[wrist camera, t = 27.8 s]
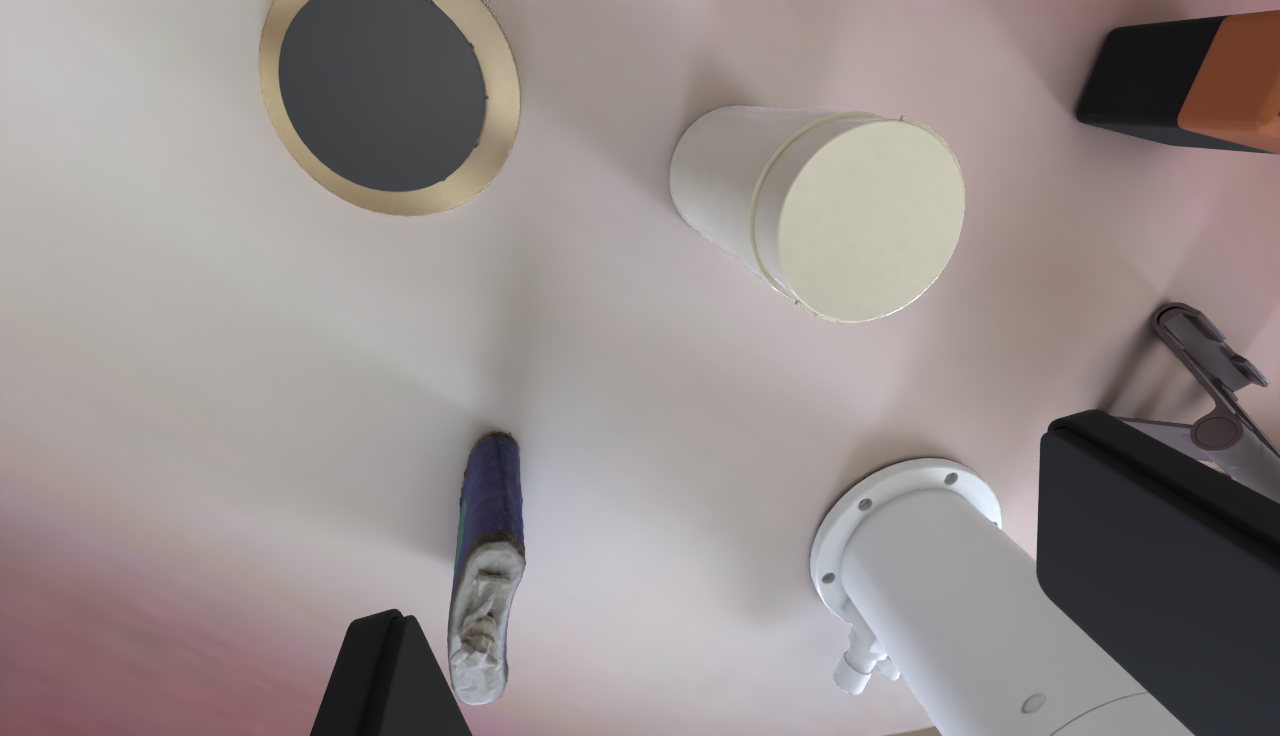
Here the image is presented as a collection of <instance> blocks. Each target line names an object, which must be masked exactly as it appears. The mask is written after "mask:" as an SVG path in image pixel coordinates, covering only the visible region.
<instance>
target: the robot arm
mask: <svg viewBox="0 0 1280 736" xmlns="http://www.w3.org/2000/svg"><path fill="white" fill-rule="evenodd" d="M1001 525H1002V516H1001V509H1000V504H999V502H998V499H997V497H996V495H995V492H994V491H993V490H992V489H991V487H990V486H989V485H988V484H987V482H986V481H985V480H983V479H982V478H981V477H980V476H978V475H977V474H976V473H975V472H974V471H972V470H971V469H969V468H967V467H965V466H963V465H962V464H960V463H957V462H953V461H949V460H946V459H935V458H923V459H915V460H908V461H905V462H901V463H898V464H894V465H891V466H889V467H886V468H884V469H882V470H880V471H878V472H876V473H874V474H872V475H870V476H869V477H867V478H866V479H864V480H863V481H861V482H860V483H858V484H857V485H855V486H854V487H853V488H852V489H851V490H849V491H848V492H847V493H846V494H845V495H844V496H843V497H842V498H841V499H840V500H839V501H838V502H837V503H836V504H835V506H834V507H833V508H832V509H831V510H830V512H829V513H828V514H827V516H826V518H825V519H824V521H823V523H822V524H821V526H820V528H819V529H818V532H817V535H816V537H815V540H814V543H813V546H812V552H811V558H810V568H811V577H812V580H813V583H814V586H815V589H816V591H817V592H818V594H819V595H820V597H821V599H822V601H823V602H824V604H825V605H826V606H827V607H828V608H829V610H830V611H831V612H832V613H833V614H834V615H836V616H837V617H839V618H840V619H842V620H843V621H845V622H847V623H850V624H852V626H853V627H852V629H851V631H850V634H849V639H850V642H851V646H850V648H849V650H848V651H847V652H846V653H844V655H843V657H842V659H841V661H840V663H839V664H838V666H837V668H836V670H835V672H834V680H835V682H836V684H837V685H838V686H839V687H840V688H841V689H842V690H843V691H845V692H847V693H849V694H852V695H858V694H861V692H862V690H863V689H864V687H865V685H866V683H867V681H868V680H869V678H870V676H871V674H872V672H873V667H874V665H875V663H876V661H880V662H879V664H878V666H877V668H878V670H879V672H880V673H881V674H882V675H883V676H884V677H886V678H887V679H890V680H897V679H898V677H899V675H900V673H901V675H902V676H903V678H904V679H905V681H906V682H907V684H908V685H909V687H910V688H911V690H912V691H913V693H914V694H915V696H916V697H917V699H918V700H919V702H920V703H921V705H922V706H923V708H924V709H925V711H926V712H927V714H928V715H929V717H930V718H931V720H932V721H933V723H934V724H935V726H936V727H937V729H938V730H939V732H940V733H941V734H942V736H1280V504H1279V503H1277V502H1275V501H1273V500H1271V499H1270V498H1268V497H1266V496H1264V495H1262V494H1260V493H1258V492H1256V491H1254V490H1252V489H1250V488H1249V487H1247V486H1245V485H1243V484H1241V483H1239V482H1237V481H1235V480H1233V479H1231V478H1229V477H1227V476H1226V475H1224V474H1222V473H1220V472H1218V471H1216V470H1214V469H1212V468H1210V467H1208V466H1206V465H1204V464H1203V463H1201V462H1199V461H1197V460H1195V459H1193V458H1191V457H1189V456H1187V455H1185V454H1183V453H1181V452H1180V451H1178V450H1176V449H1174V448H1172V447H1170V446H1168V445H1166V444H1164V443H1162V442H1160V441H1159V440H1157V439H1155V438H1153V437H1151V436H1149V435H1147V434H1145V433H1143V432H1141V431H1139V430H1137V429H1136V428H1134V427H1132V426H1130V425H1128V424H1126V423H1124V422H1122V421H1120V420H1118V419H1116V418H1114V417H1113V416H1111V415H1109V414H1107V413H1105V412H1102V411H1100V410H1097V409H1096V410H1087V411H1083V412H1080V413H1076V414H1073V415H1069V416H1066V417H1062V418H1059V419H1056V420H1054V421H1052V422H1051V424H1050V425H1049V427H1048V431H1047V433H1045V434H1044V435H1043V436H1042V438H1041V442H1040V470H1039V501H1038V532H1037V561H1035V560H1034V559H1033V558H1032V557H1031V556H1030V555H1029V554H1028V553H1027V552H1025V551H1024V550H1023V549H1022V548H1021V547H1020V546H1019V545H1018V544H1016V543H1015V542H1014V541H1013V540H1012V539H1011V538H1010V537H1009V536H1007V535H1006V534H1005V533H1004V532H1003V531H1002V530H1001ZM310 736H472V734H471V732H470V730H469V728H468V726H467V723H466V721H465V719H464V717H463V715H462V713H461V711H460V709H459V707H458V705H457V702H456V700H455V698H454V696H453V694H452V692H451V690H450V688H449V686H448V684H447V681H446V679H445V677H444V675H443V673H442V671H441V669H440V667H439V665H438V663H437V660H436V658H435V656H434V654H433V652H432V650H431V648H430V646H429V644H428V642H427V639H426V637H425V635H424V633H423V631H422V629H421V627H420V625H419V623H418V621H417V619H416V618H415V617H414V616H413V615H409V616H406V617H403V615H402V613H401V612H400V611H399V610H397V609H391V610H387V611H384V612H380V613H377V614H373V615H370V616H366V617H363V618H359V619H356V620H354V621H353V622H351V624H350V626H349V627H348V630H347V632H346V635H345V638H344V641H343V644H342V646H341V649H340V652H339V655H338V658H337V661H336V663H335V666H334V669H333V672H332V675H331V677H330V680H329V683H328V686H327V689H326V691H325V694H324V697H323V700H322V703H321V705H320V708H319V711H318V714H317V717H316V720H315V722H314V725H313V728H312V731H311V734H310Z"/></svg>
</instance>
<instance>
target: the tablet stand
mask: <svg viewBox="0 0 1280 736" xmlns="http://www.w3.org/2000/svg"><path fill="white" fill-rule="evenodd" d="M1152 325H1153V327H1154V328H1155V329H1156V331H1157V333H1158V334H1159V335H1160V336H1161V337H1162V338H1163V339H1164V340H1165V341H1166V343H1167V344H1168V345H1169V346H1170V347H1171V349H1172V350H1173V351H1174V352H1175V353H1176V355H1177V356H1178V357H1179V358H1180V360H1181V361H1182V362H1183V363H1184V364H1185V366H1186V367H1187V368H1188V369H1189V370H1190V372H1191V373H1192V374H1193V375H1194V376H1195V378H1196V379H1197V380H1198V381H1199V382H1200V384H1201V385H1202V386H1203V387H1204V388H1205V390H1206V391H1207V392H1208V393H1209V394H1210V396H1211V397H1212V398H1213V399H1214V401H1215V404H1216V407H1215V409H1214V410H1213V411H1212V412H1211V413H1209V414H1207V415H1206V416H1204V417H1202V418H1200V419H1199V420H1197V421H1196V422H1195V423H1194V425H1189V424H1180V423H1170V422H1161V421H1152V420H1143V419H1133V418H1124V417H1115V416H1113V417H1114V418H1116V419H1118V420H1120V421H1122V422H1124V423H1126V424H1128V425H1130V426H1132V427H1134V428H1136V429H1137V430H1139V431H1141V432H1143V433H1145V434H1147V435H1149V436H1151V437H1153V438H1155V439H1157V440H1159V441H1160V442H1162V443H1164V444H1166V445H1168V446H1170V447H1172V448H1174V449H1176V450H1178V451H1180V452H1181V453H1183V454H1185V455H1187V456H1189V457H1191V458H1193V459H1197V460H1203V461H1210V462H1215V463H1216V464H1217V465H1218V466H1220V467H1221V468H1222V469H1223V470H1224V471H1225V472H1226V473H1228V474H1229V475H1230V476H1231V477H1232V478H1233V479H1234V480H1236V481H1237V482H1239V483H1241V484H1243V485H1245V486H1247V487H1249V488H1250V489H1252V490H1254V491H1256V492H1258V493H1260V494H1262V495H1264V496H1266V497H1268V498H1270V499H1271V500H1273V501H1275V502H1277V503H1279V504H1280V451H1279V450H1278V449H1277V448H1276V447H1275V446H1274V445H1273V443H1272V442H1271V441H1270V440H1269V439H1268V438H1267V436H1266V435H1265V434H1264V433H1263V432H1262V431H1261V429H1260V428H1259V427H1258V426H1257V425H1256V424H1255V423H1254V421H1253V420H1252V419H1251V418H1250V417H1249V416H1248V414H1247V413H1246V412H1245V411H1244V410H1243V409H1242V407H1241V406H1240V405H1239V404H1238V403H1237V402H1236V401H1237V400H1238V398H1237V397H1236V396H1235V394H1234V393H1233V392H1235V391H1237V390H1239V389H1241V388H1243V387H1245V386H1247V385H1249V384H1251V383H1253V384H1257V385H1259V386H1262V387H1267V386H1268V384H1270V382H1269V381H1268V380H1267V379H1266V378H1265V377H1264V376H1263V375H1262V374H1261V373H1260V372H1259V371H1258V370H1257V369H1256V368H1255V367H1254V366H1253V365H1252V364H1251V363H1250V362H1249V361H1248V360H1247V359H1245V358H1243V357H1242V356H1240V355H1238V354H1236V353H1235V352H1234V351H1233V350H1232V349H1231V348H1230V347H1229V346H1228V345H1227V344H1226V343H1225V341H1224V340H1225V339H1226V337H1225V336H1224V335H1223V334H1222V333H1221V332H1220V331H1219V330H1218V329H1217V328H1216V327H1215V326H1214V325H1213V324H1212V323H1211V322H1210V321H1209V320H1208V318H1207V317H1206V316H1205V315H1204V314H1203V313H1202V312H1200V311H1198V310H1196V309H1194V308H1192V307H1190V306H1188V305H1186V304H1184V303H1170V304H1167V305H1165V306H1163V307H1161V308H1160V309H1158V310H1157V311H1156V312H1155V313H1154V315H1153V317H1152ZM1222 396H1223V397H1224V398H1223V397H1222ZM1228 403H1229V404H1228ZM1233 409H1234V410H1235V411H1234V410H1233ZM1252 432H1253V433H1254V434H1255V435H1256V436H1257V437H1258V438H1257V437H1256V436H1255V435H1254V434H1253V433H1252Z"/></svg>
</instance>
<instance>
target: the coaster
mask: <svg viewBox="0 0 1280 736" xmlns="http://www.w3.org/2000/svg"><path fill="white" fill-rule="evenodd" d="M308 1H309V0H275V1H274V3H273V5H272V7H271V9H270V11H269V13H268V15H267V18H266V22H265V25H264V28H263V31H262V36H261V42H260V48H259V74H260V84H261V89H262V94H263V98H264V102H265V105H266V108H267V111H268V114H269V116H270V119H271V122H272V124H273V126H274V128H275V130H276V132H277V134H278V136H279V137H280V139H281V141H282V142H283V144H284V145H285V147H286V148H287V150H288V151H289V153H290V154H291V155H292V156H293V158H294V159H295V160H296V161H297V162H298V164H299V165H300V166H301V167H302V168H303V169H304V170H305V171H306V172H307V173H308V174H309V175H310V176H311V177H312V178H313V179H314V180H315V181H317V182H318V183H319V184H321V185H322V186H323V187H324V188H326V189H327V190H328V191H330V192H332V193H333V194H335V195H336V196H338V197H340V198H341V199H343V200H345V201H347V202H349V203H352V204H354V205H356V206H358V207H361V208H364V209H367V210H370V211H373V212H377V213H381V214H386V215H392V216H405V217H409V216H424V215H430V214H435V213H439V212H442V211H446V210H449V209H452V208H454V207H456V206H458V205H460V204H462V203H464V202H466V201H467V200H469V199H470V198H472V197H473V196H475V195H476V194H478V193H479V192H480V191H481V190H482V189H483V188H484V187H486V186H487V185H488V184H489V183H490V182H491V180H492V179H493V178H494V177H495V176H496V174H497V173H498V172H499V170H500V169H501V167H502V166H503V164H504V162H505V161H506V159H507V157H508V155H509V152H510V150H511V148H512V146H513V143H514V139H515V136H516V133H517V129H518V123H519V117H520V87H519V78H518V74H517V69H516V64H515V61H514V58H513V55H512V52H511V49H510V46H509V44H508V42H507V40H506V38H505V35H504V33H503V31H502V29H501V28H500V26H499V24H498V23H497V21H496V19H495V18H494V16H493V15H492V13H491V12H490V11H489V9H488V8H487V7H486V5H485V4H484V3H483V2H482V0H432V1H433V2H434V3H435V4H436V5H437V7H439V8H440V9H441V10H442V11H443V12H444V13H445V14H446V15H447V16H448V17H449V18H450V19H451V20H452V21H453V22H454V23H455V24H456V26H457V27H458V28H459V29H460V31H461V32H462V33H463V34H464V35H465V37H466V38H467V40H468V41H469V43H472V44H473V46H474V47H475V48H474V49H473V50H474V52H475V54H476V56H477V58H478V60H479V63H480V66H481V69H482V71H483V75H484V80H485V84H486V93H487V96H489V99H487V110H486V117H485V123H484V126H483V130H482V133H481V135H480V137H479V140H478V143H479V145H478V146H477V148H475V147H474V149H473V150H472V152H471V154H470V155H469V157H468V158H467V159H466V160H465V161H464V163H463V164H462V165H461V166H460V167H459V168H458V169H457V170H456V171H455V172H454V173H452V174H451V175H450V176H448V177H447V179H446V180H445V181H441V182H438V183H436V184H434V185H432V186H430V187H427V188H423V189H420V190H415V191H410V192H399V193H396V192H384V191H378V190H373V189H369V188H366V187H363V186H360V185H357V184H355V183H353V182H351V181H349V180H346V179H344V178H343V177H341V176H340V175H338V174H336V173H335V172H333V171H332V170H330V169H329V168H328V167H327V166H325V165H324V164H323V163H322V162H320V161H319V160H318V159H317V158H316V157H315V156H314V155H313V154H312V153H311V152H310V150H309V149H308V148H307V147H306V145H305V144H304V143H303V142H302V140H301V139H300V137H299V136H298V134H297V132H296V131H295V129H294V128H293V126H292V124H291V121H290V119H289V117H288V115H287V112H286V110H285V107H284V104H283V101H282V96H281V92H280V87H279V76H278V68H279V56H280V50H281V45H282V42H283V39H284V36H285V33H286V31H287V29H288V27H289V25H290V23H291V21H292V20H293V18H294V17H295V15H296V14H297V13H298V11H299V10H300V9H301V8H302V7H303V6H304V5H305V4H306V3H307V2H308ZM429 1H430V0H429Z"/></svg>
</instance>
